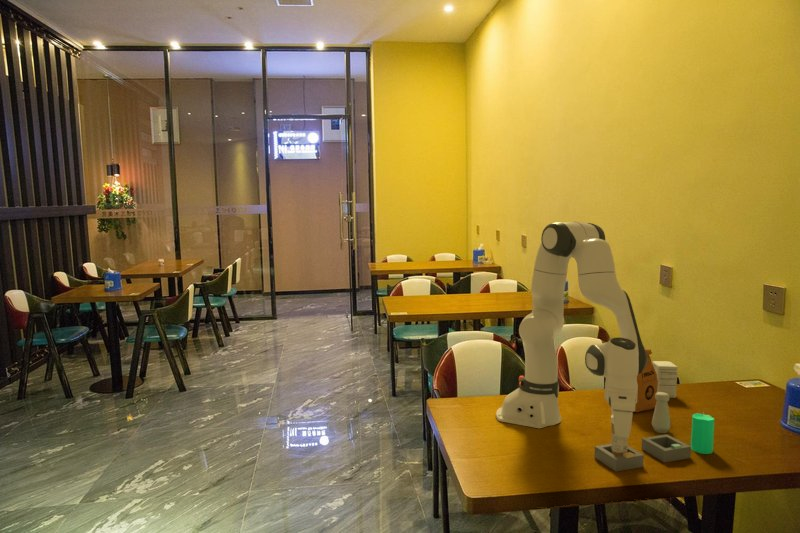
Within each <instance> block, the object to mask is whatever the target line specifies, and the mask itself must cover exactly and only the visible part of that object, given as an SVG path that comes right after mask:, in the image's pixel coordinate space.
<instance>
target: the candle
mask: <svg viewBox="0 0 800 533" xmlns="http://www.w3.org/2000/svg"><path fill="white" fill-rule="evenodd" d="M691 418H692V419H691V437H690V446H691V450H692V451H693V452H695V453H699V454H705V455H707V454H708V455H709V454H712V453H714V438H715V437H714V436H715V434H714V433H715V418H714V417H712V416H711V415H710V414H705V412H704V411H703V413H700V412H697V413H693V414H692V416H691Z"/></svg>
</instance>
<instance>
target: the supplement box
mask: <svg viewBox="0 0 800 533" xmlns="http://www.w3.org/2000/svg"><path fill="white" fill-rule="evenodd" d="M651 362H652V364H653V366H654V368H655V371H656V374H657V379H658V387H657V392H665V393H667V394H668V395H669V397H670V398H669V399H671V398H673V399H674V398H675V399H676V398H677V385H678V366H677V365H675V364H674V363H673V362H672V361H667V360H666V361H664V360H663V361H662V360H660V361H659V360H651Z"/></svg>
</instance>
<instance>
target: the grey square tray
mask: <svg viewBox="0 0 800 533" xmlns="http://www.w3.org/2000/svg"><path fill="white" fill-rule="evenodd" d="M641 450H642V451H644V452H645V453H646V454H649V455H651V456H653V457H654V458H656V459H658V460H659V461H661V462H663V463H671V462H674V461H675V462H676V461H681V460H685V459H687V460H688V459H691V453H692V452H691V450H692V449H691V445H689V444H688V443H685V442H684V441H681V440H679V439H678V438H675V437H673V436H671V435H670V434H666V433H664V434H660V435H656V436H655V435H654V436H649V437H648V436H646V437H642V438H641Z"/></svg>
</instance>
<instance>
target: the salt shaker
mask: <svg viewBox="0 0 800 533" xmlns="http://www.w3.org/2000/svg"><path fill="white" fill-rule="evenodd" d="M655 399H656V400H657V403H656V407H655V408H654V411H653V415H652V418H651V419H652V420H651V425H652V428H653V430H654V432H656V433H658V434H666V433H668V432H669V430H670V428H671V417H670V411H669V404H668V402H669V401H670V399H671V398H670V397H669V395H668V394H667V393H665V392H657V393H656V394H655Z"/></svg>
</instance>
